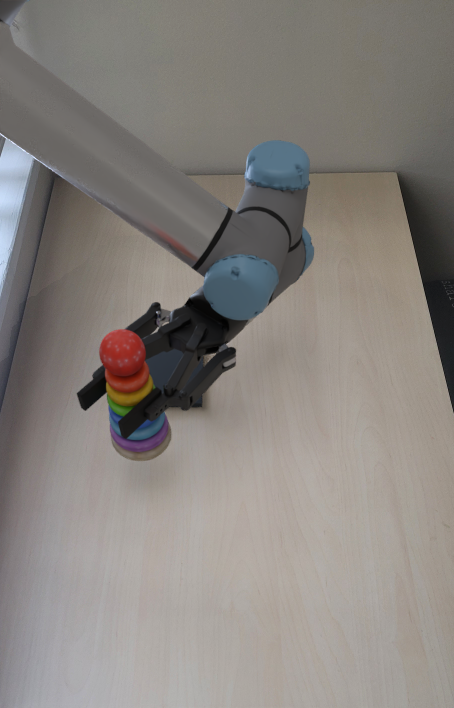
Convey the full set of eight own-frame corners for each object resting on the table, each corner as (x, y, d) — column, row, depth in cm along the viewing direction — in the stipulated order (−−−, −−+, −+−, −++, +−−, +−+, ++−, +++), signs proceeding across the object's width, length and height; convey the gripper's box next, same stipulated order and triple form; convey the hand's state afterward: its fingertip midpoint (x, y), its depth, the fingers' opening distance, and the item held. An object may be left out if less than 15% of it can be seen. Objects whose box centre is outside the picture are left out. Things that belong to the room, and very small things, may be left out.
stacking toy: (168, 410, 87) (156, 307, 70) (175, 459, 83) (164, 362, 67) (109, 418, 86) (83, 315, 70) (114, 468, 82) (88, 371, 66)
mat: (123, 407, 97) (122, 403, 96) (130, 339, 104) (129, 334, 103) (202, 407, 97) (201, 403, 96) (204, 339, 104) (203, 334, 103)
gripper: (282, 359, 83) (165, 476, 74) (173, 295, 89) (52, 397, 80) (287, 315, 77) (159, 438, 68) (169, 250, 82) (36, 355, 74)
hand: (101, 416), depth 74 cm, fingers closed on stacking toy, 6 cm apart
